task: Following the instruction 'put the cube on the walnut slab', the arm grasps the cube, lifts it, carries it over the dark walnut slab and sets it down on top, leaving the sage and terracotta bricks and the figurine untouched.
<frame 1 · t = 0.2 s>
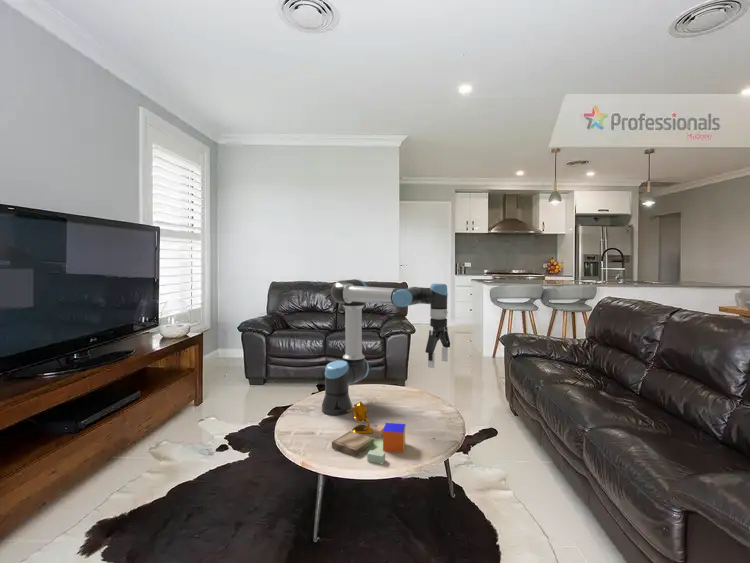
hand: (438, 364, 177), 28 cm above the table, fingers open, 13 cm apart
sage brick: (376, 461, 146), on the table
walnut slab: (353, 446, 157), on the table
terracotta brick: (379, 434, 168), on the table
cube: (394, 447, 156), on the table
figurine: (361, 430, 172), on the table
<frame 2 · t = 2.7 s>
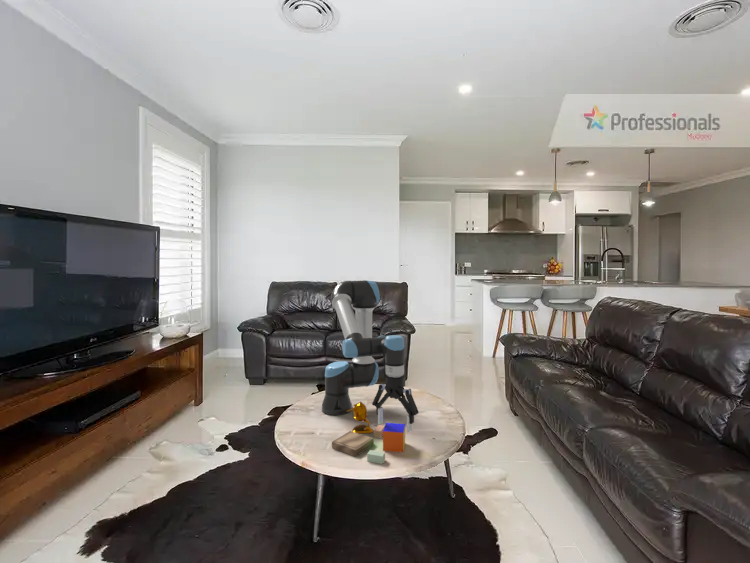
hand: (394, 427, 156), 8 cm above the table, fingers open, 13 cm apart
nothing on the table moved.
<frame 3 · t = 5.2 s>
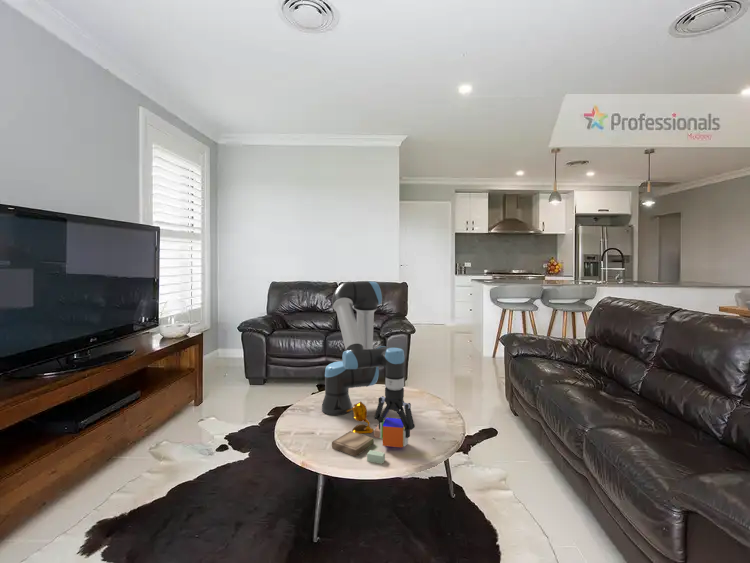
hand: (393, 440, 157), 2 cm above the table, fingers closed on cube, 10 cm apart
cube: (393, 442, 157), point 2 cm above the table, touching gripper
everything else where it was.
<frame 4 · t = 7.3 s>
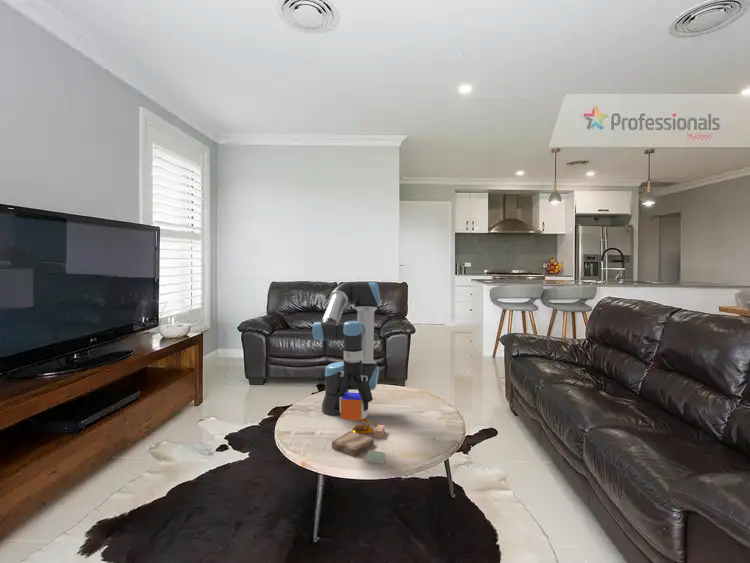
hand: (353, 414, 156), 13 cm above the table, fingers closed on cube, 10 cm apart
cube: (353, 416, 156), point 12 cm above the table, touching gripper
everything else where it was.
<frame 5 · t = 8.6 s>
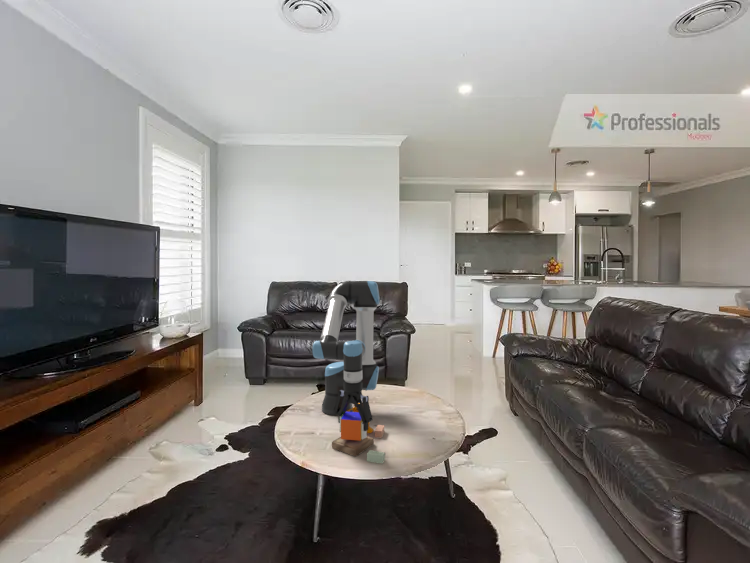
hand: (353, 434, 157), 5 cm above the table, fingers closed on cube, 10 cm apart
cube: (353, 435, 157), point 4 cm above the table, touching gripper
everything else where it was.
when the fingers open (4 cm above the table, at t = 9.7 s): cube drops 1 cm, resting on walnut slab.
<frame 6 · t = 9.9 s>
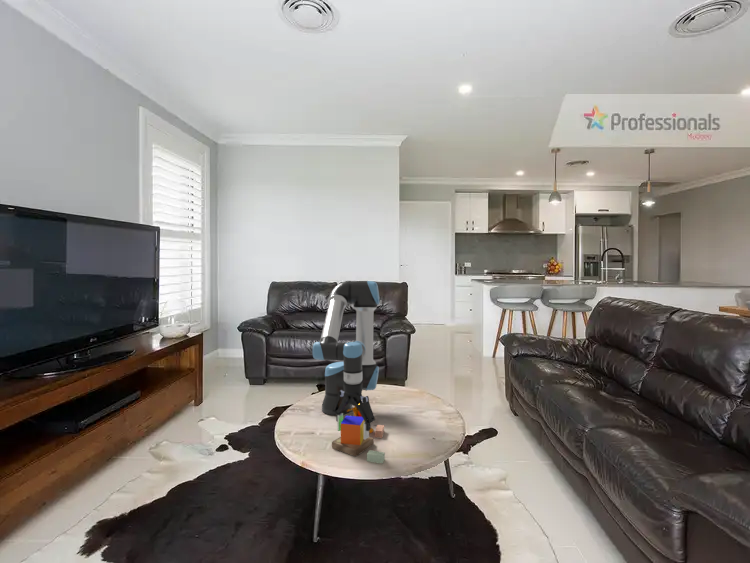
hand: (353, 433, 157), 5 cm above the table, fingers open, 12 cm apart
cube: (353, 440, 157), point 2 cm above the table, touching walnut slab
everything else where it was.
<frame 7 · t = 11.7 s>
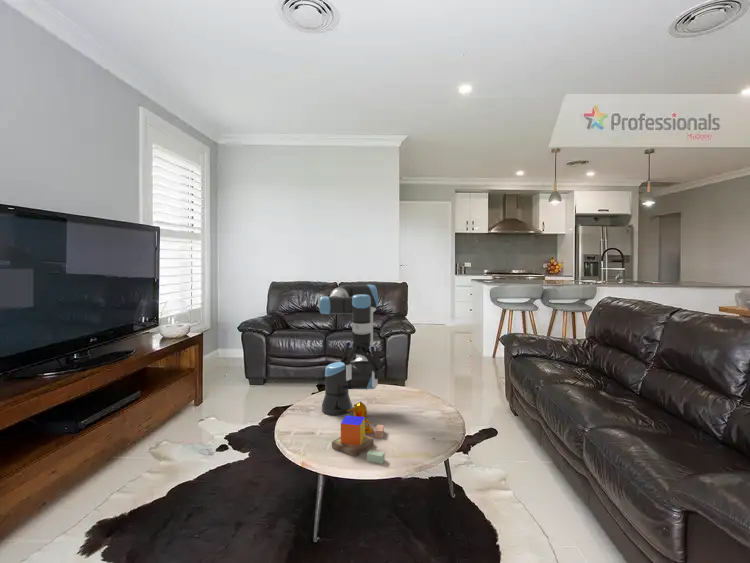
hand: (361, 382, 161), 24 cm above the table, fingers open, 13 cm apart
nothing on the table moved.
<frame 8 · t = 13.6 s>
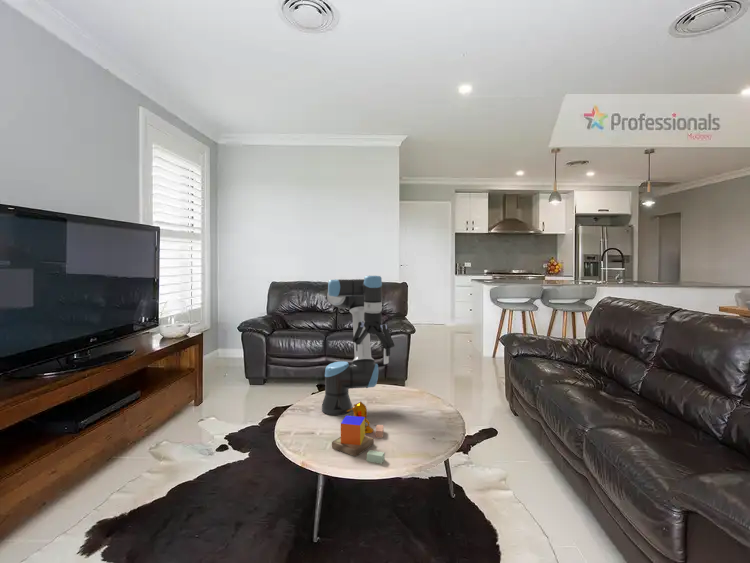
hand: (372, 361, 167), 32 cm above the table, fingers open, 13 cm apart
nothing on the table moved.
at the end: cube inside the target area on the walnut slab (0.1 cm from its centre), point 2.4 cm above the walnut slab's base; sage brick moved 0.3 cm from its start; terracotta brick moved 0.2 cm from its start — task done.
